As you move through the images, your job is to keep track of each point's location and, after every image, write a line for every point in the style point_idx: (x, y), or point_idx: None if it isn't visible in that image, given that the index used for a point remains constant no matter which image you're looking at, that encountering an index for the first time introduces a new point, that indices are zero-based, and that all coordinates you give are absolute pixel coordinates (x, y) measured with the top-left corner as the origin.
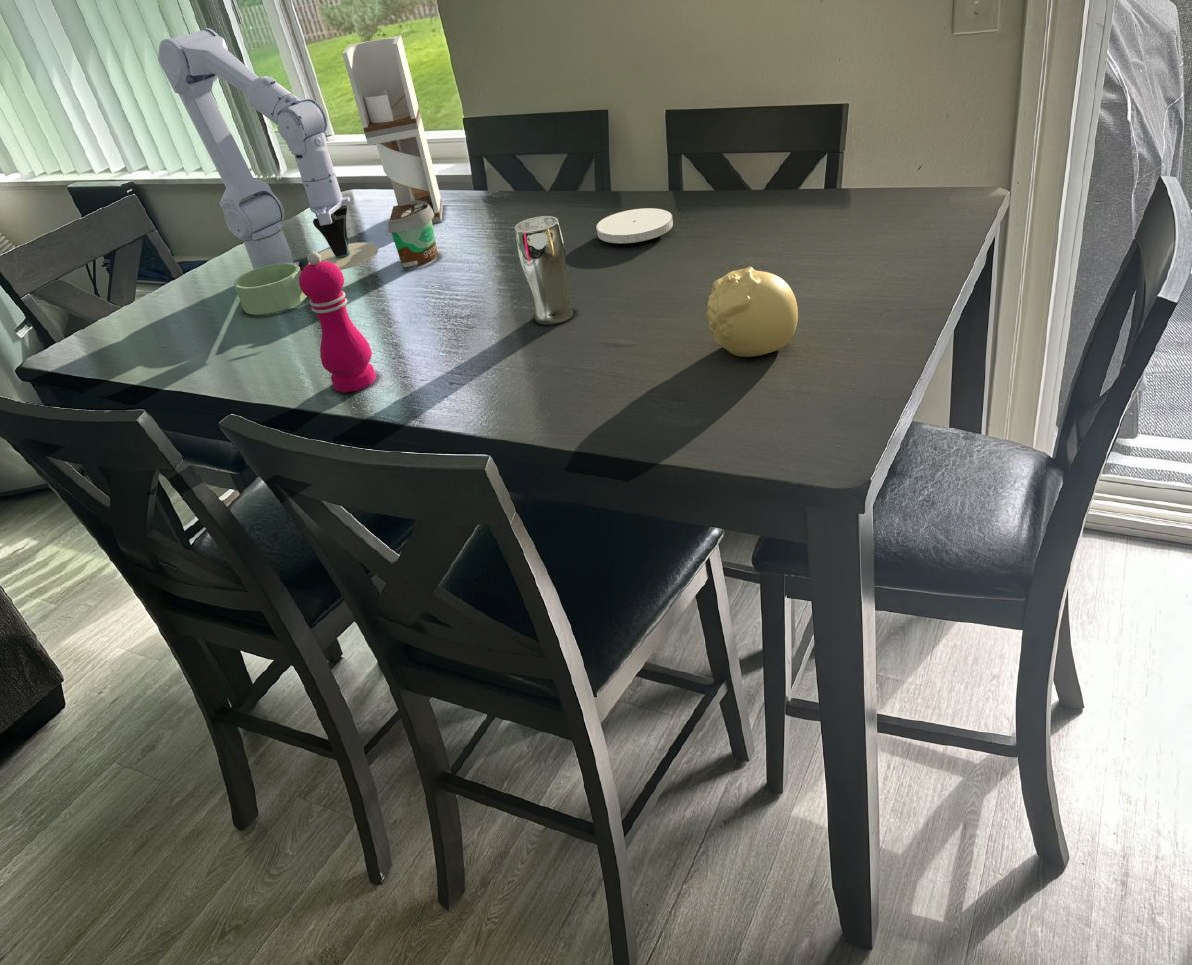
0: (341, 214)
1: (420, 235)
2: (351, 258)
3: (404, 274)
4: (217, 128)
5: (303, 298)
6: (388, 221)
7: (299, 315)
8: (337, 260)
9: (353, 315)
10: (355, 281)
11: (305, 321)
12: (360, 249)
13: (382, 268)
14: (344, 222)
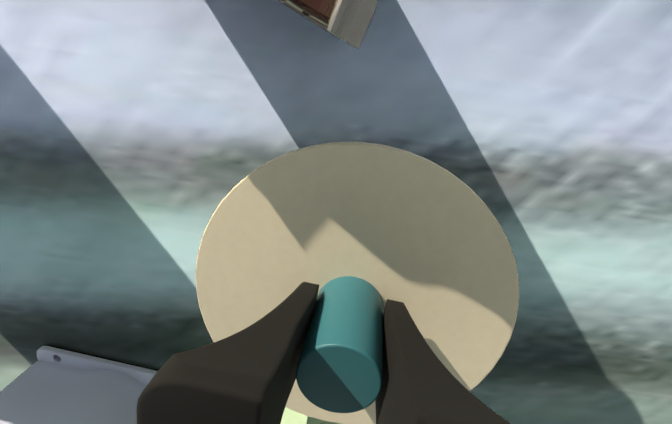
0: (270, 404)
1: None
2: (431, 281)
3: (380, 44)
4: None
5: None
6: (332, 26)
7: (485, 402)
8: None
9: (649, 280)
10: None
11: (552, 397)
12: (325, 225)
13: (244, 118)
14: (431, 397)
